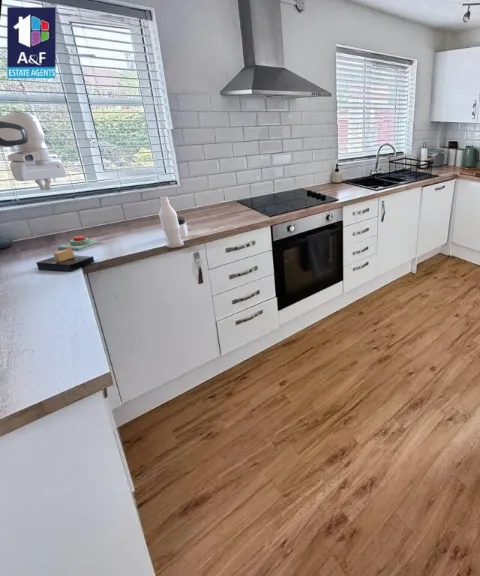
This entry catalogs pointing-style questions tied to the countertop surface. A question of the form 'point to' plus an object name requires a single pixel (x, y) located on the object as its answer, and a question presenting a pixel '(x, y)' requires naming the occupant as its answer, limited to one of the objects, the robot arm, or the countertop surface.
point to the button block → (78, 244)
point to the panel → (65, 263)
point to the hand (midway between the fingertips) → (45, 190)
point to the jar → (182, 227)
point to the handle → (63, 255)
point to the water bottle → (170, 224)
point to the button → (78, 238)
